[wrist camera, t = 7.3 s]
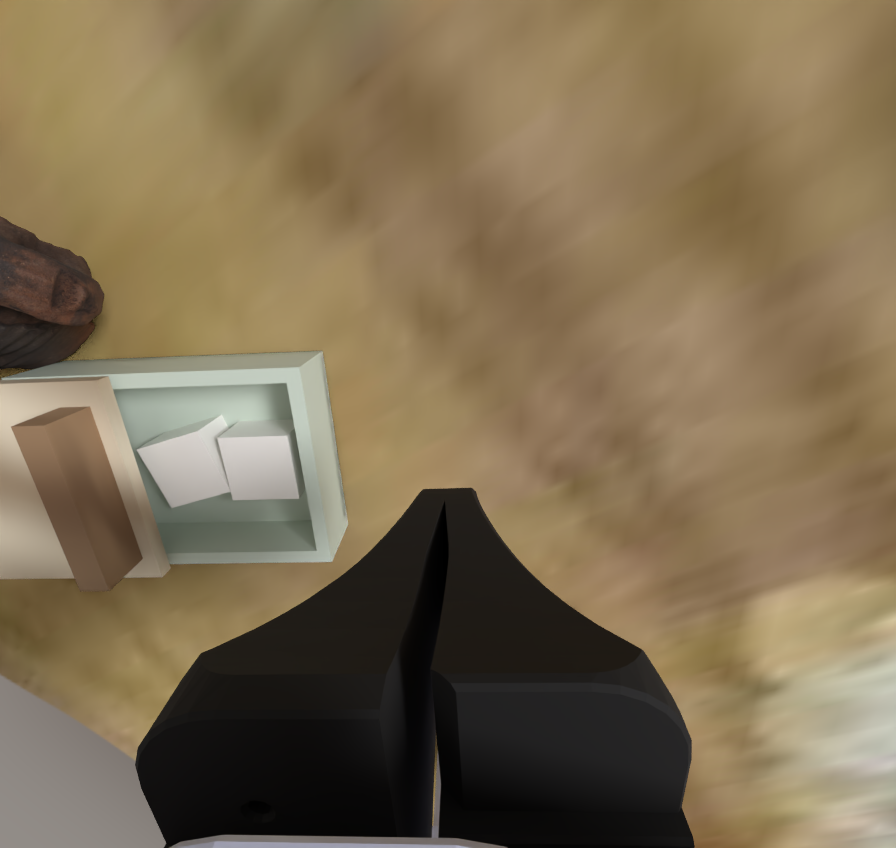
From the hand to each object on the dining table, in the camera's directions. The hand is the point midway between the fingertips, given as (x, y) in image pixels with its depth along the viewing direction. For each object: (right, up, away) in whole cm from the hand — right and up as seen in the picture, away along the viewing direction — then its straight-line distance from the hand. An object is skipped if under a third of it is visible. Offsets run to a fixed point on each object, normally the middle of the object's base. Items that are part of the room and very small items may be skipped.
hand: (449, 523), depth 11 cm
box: (-11, +1, +11) cm, 16 cm away
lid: (-19, 0, +8) cm, 20 cm away
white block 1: (-11, +1, +10) cm, 15 cm away
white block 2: (-8, +1, +10) cm, 13 cm away
